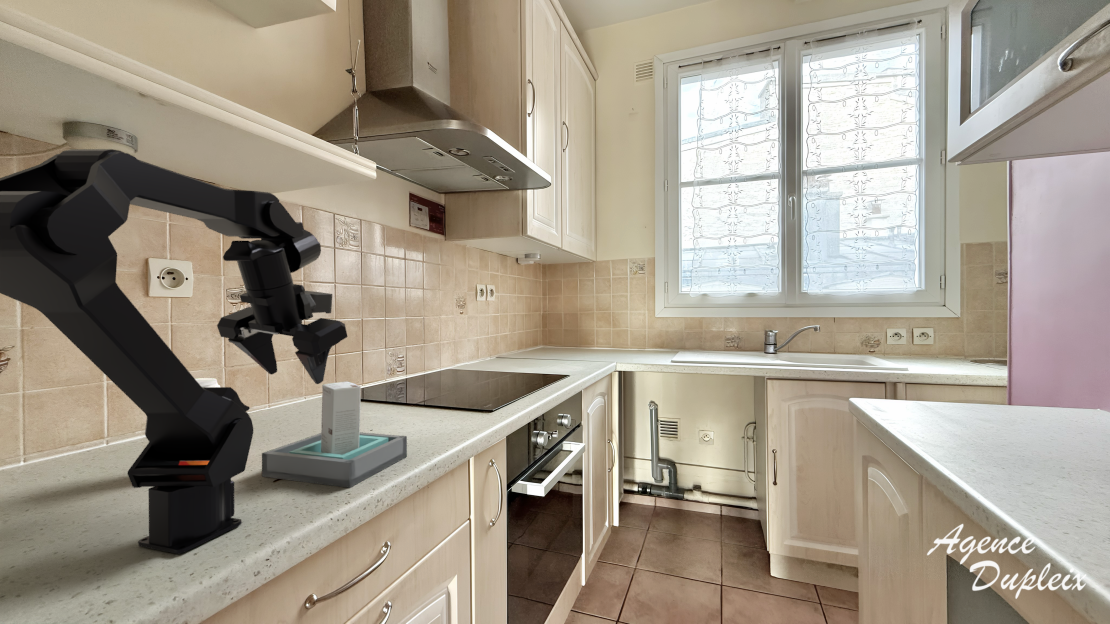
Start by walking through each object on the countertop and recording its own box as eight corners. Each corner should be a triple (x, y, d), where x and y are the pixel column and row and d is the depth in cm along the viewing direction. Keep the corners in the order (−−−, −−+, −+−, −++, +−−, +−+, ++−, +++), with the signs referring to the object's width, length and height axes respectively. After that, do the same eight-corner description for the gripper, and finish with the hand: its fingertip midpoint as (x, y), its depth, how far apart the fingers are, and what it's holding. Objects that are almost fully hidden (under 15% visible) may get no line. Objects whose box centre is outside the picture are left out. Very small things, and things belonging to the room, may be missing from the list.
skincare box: (319, 459, 67) (319, 383, 67) (349, 452, 70) (348, 380, 70) (330, 469, 63) (330, 388, 63) (362, 461, 66) (361, 385, 66)
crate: (349, 487, 59) (349, 462, 59) (262, 476, 63) (261, 453, 63) (406, 456, 71) (406, 436, 71) (330, 449, 75) (330, 429, 75)
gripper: (363, 273, 64) (380, 362, 70) (270, 262, 69) (293, 346, 75) (303, 298, 54) (328, 399, 60) (199, 284, 59) (233, 378, 65)
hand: (296, 377), depth 65 cm, fingers open, 9 cm apart
